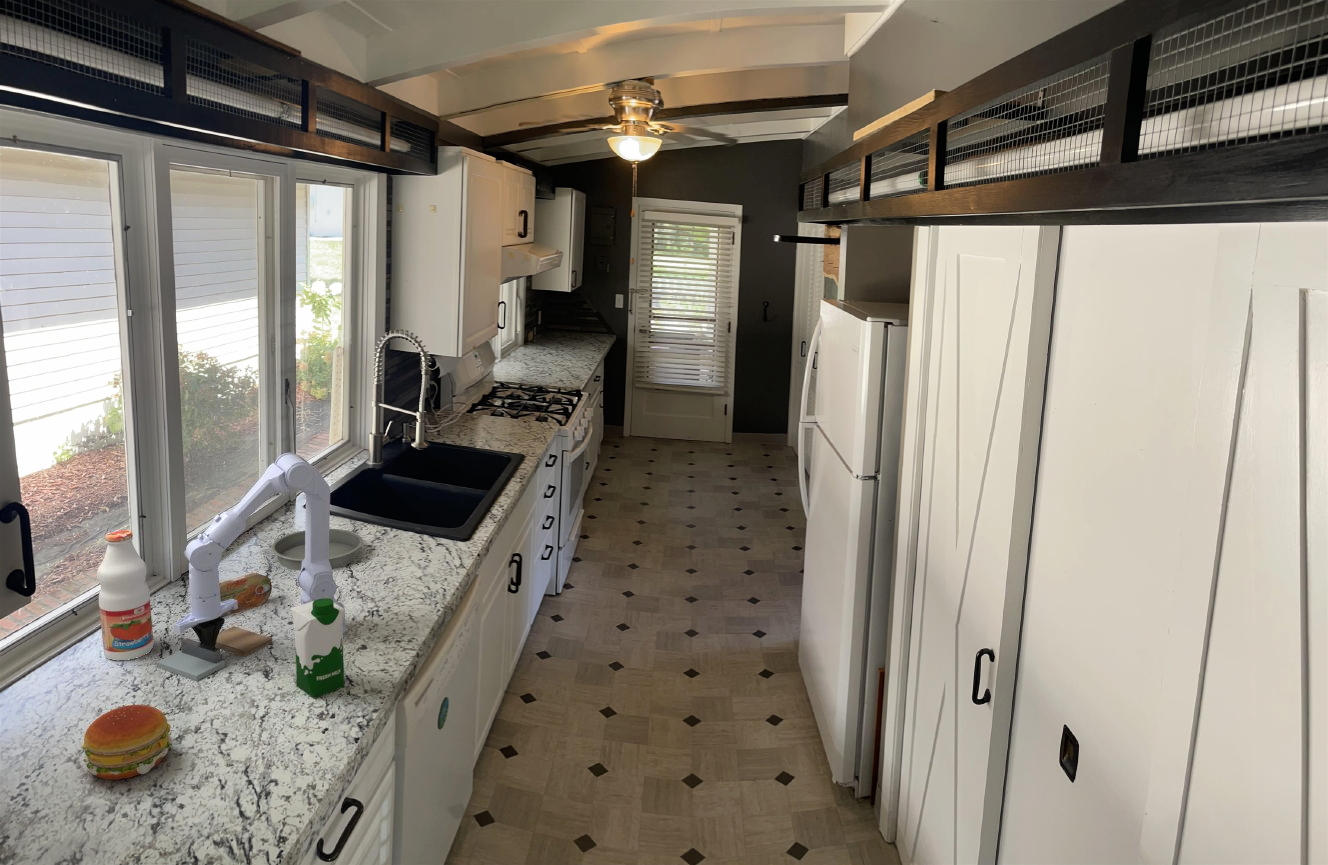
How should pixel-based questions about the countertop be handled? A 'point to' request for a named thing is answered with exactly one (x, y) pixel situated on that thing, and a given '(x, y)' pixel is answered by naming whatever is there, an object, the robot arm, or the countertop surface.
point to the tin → (246, 591)
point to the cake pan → (340, 548)
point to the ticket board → (241, 641)
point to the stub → (193, 660)
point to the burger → (126, 742)
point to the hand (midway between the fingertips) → (208, 649)
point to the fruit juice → (124, 599)
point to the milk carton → (319, 646)
